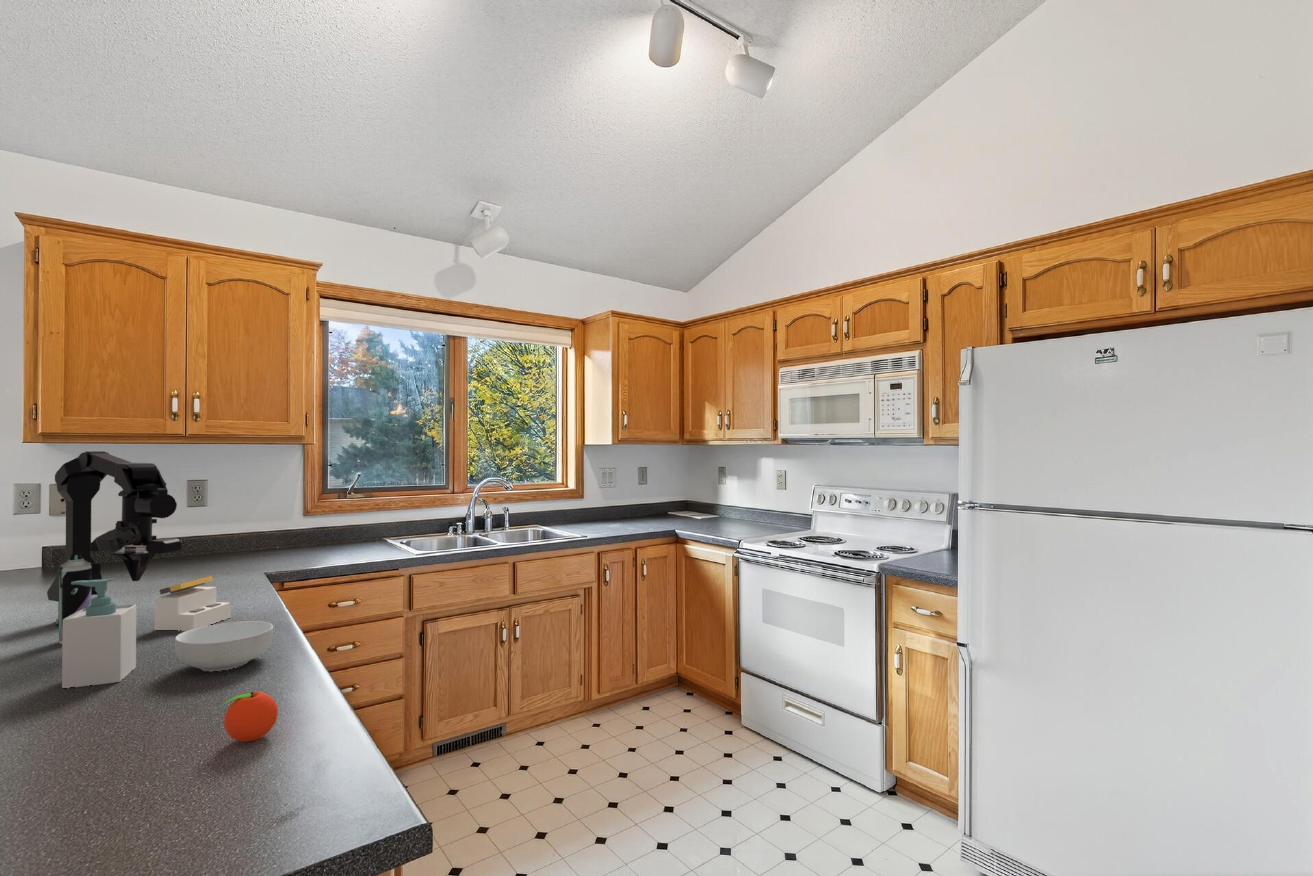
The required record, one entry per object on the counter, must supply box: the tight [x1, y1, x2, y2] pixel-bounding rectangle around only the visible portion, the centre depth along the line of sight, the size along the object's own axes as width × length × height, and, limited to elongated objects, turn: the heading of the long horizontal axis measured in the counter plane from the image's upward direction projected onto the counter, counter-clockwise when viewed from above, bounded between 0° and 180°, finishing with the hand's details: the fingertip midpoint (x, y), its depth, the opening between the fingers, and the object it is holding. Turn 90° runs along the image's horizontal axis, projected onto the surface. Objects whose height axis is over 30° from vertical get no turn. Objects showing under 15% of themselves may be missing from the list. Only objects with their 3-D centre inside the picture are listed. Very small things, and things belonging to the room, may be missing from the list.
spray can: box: [58, 554, 92, 645], centre depth 146 cm, size 6×6×20 cm
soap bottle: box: [61, 577, 137, 689], centre depth 122 cm, size 9×9×19 cm
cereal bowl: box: [174, 620, 274, 673], centre depth 130 cm, size 17×17×7 cm
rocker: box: [159, 575, 214, 595], centre depth 160 cm, size 6×10×2 cm, turn 175°
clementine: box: [215, 691, 279, 743], centre depth 96 cm, size 8×7×7 cm
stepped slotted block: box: [154, 586, 232, 632], centre depth 160 cm, size 10×12×8 cm
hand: (135, 580), depth 152 cm, fingers closed
